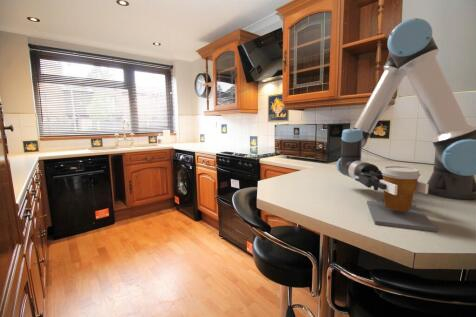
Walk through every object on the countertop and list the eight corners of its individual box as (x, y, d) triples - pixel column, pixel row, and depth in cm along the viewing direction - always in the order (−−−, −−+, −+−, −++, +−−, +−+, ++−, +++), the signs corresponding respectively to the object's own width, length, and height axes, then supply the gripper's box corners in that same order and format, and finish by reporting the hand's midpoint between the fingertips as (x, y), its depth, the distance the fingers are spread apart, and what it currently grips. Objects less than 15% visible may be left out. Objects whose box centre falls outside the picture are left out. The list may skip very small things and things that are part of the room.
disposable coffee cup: (410, 203, 74) (413, 166, 72) (422, 215, 65) (426, 172, 63) (375, 201, 77) (378, 165, 75) (382, 211, 68) (385, 171, 66)
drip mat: (415, 207, 77) (415, 205, 77) (436, 231, 61) (437, 228, 60) (366, 203, 82) (366, 200, 82) (374, 224, 66) (374, 220, 66)
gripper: (390, 181, 89) (446, 201, 66) (335, 183, 88) (373, 204, 65) (392, 161, 88) (449, 175, 65) (336, 163, 87) (375, 177, 64)
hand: (411, 189), depth 65 cm, fingers closed on disposable coffee cup, 8 cm apart
